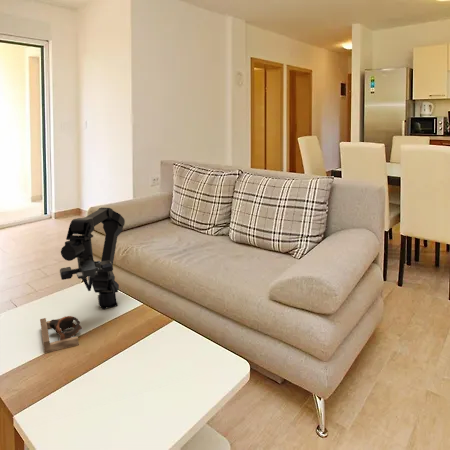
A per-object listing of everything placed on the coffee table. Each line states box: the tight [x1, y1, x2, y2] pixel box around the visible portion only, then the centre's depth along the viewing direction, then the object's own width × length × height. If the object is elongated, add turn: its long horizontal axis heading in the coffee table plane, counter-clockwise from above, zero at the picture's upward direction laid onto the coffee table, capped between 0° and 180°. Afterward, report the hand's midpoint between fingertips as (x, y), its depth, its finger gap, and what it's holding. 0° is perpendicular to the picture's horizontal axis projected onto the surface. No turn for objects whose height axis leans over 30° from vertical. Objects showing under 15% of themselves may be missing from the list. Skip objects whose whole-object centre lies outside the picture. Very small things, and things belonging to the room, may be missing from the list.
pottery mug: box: [49, 315, 83, 341], centre depth 152 cm, size 12×10×8 cm
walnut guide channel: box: [39, 317, 80, 354], centre depth 152 cm, size 11×19×4 cm, turn 26°
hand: (89, 290), depth 162 cm, fingers closed
